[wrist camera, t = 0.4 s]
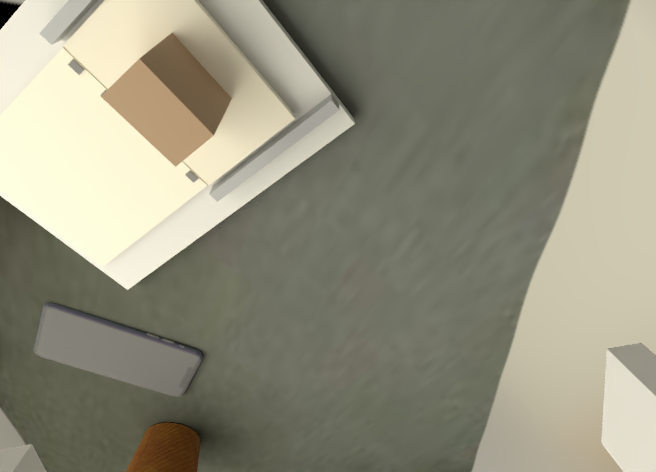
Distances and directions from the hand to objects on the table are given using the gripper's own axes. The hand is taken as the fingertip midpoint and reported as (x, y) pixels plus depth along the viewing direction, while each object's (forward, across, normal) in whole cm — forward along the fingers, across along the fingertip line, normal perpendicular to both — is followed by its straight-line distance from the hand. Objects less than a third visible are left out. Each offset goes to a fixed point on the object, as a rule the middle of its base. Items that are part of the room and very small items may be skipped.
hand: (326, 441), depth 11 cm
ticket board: (+26, -11, +6) cm, 29 cm away
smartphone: (+32, -22, -15) cm, 42 cm away
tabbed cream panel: (+23, -7, +8) cm, 26 cm away
